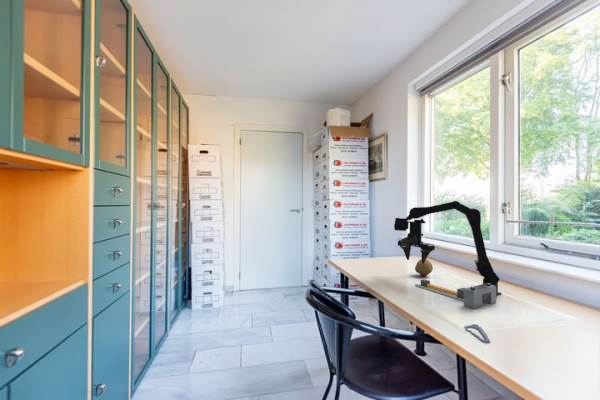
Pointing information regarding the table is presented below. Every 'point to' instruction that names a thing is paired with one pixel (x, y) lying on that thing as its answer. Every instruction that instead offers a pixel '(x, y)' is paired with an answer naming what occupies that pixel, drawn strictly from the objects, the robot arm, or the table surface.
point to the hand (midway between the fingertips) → (415, 261)
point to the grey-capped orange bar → (443, 289)
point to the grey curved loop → (480, 331)
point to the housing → (473, 295)
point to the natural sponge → (424, 267)
